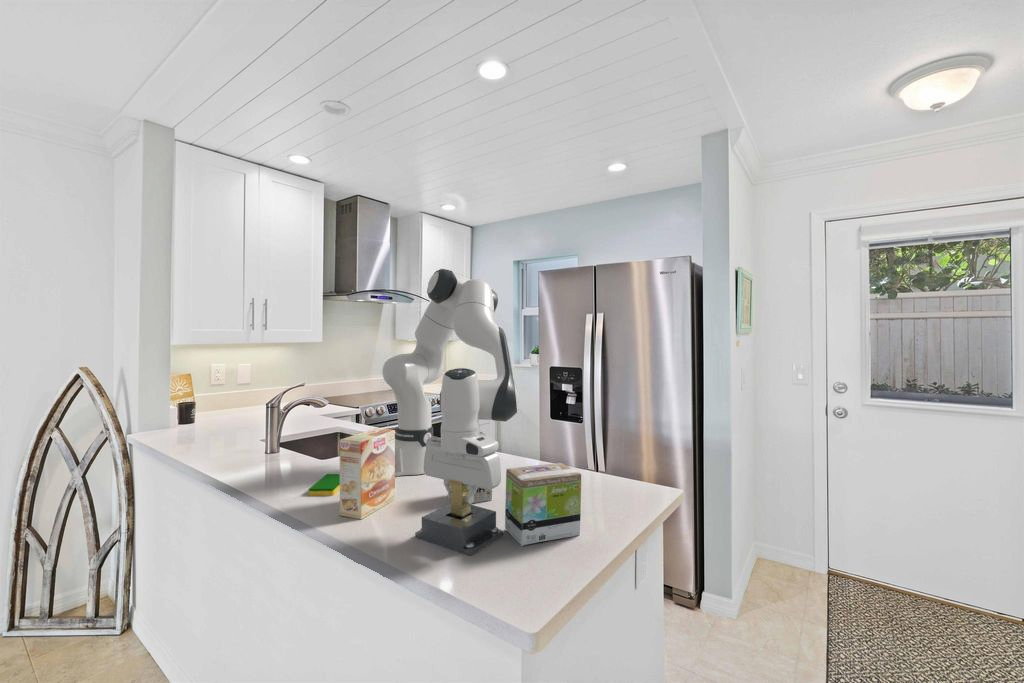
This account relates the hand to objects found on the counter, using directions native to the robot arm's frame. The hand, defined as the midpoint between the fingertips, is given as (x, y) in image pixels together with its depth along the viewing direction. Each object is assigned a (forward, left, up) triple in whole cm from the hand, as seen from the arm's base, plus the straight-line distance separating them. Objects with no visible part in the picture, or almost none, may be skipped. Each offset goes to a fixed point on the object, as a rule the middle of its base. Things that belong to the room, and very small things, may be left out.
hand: (460, 500), depth 108 cm
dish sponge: (-53, +4, -9) cm, 54 cm away
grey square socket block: (0, 0, -8) cm, 8 cm away
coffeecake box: (-31, 0, -8) cm, 32 cm away
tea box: (+15, +12, -8) cm, 21 cm away
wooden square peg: (0, 0, -3) cm, 3 cm away
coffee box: (-12, +22, -8) cm, 26 cm away
